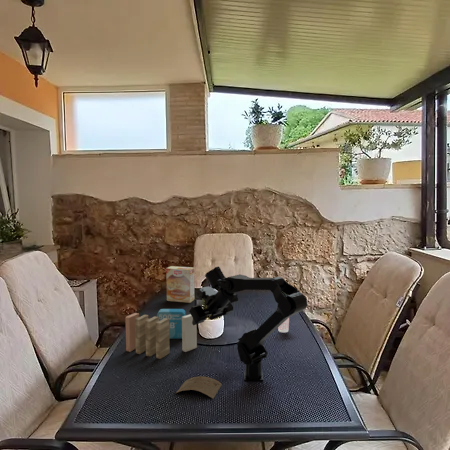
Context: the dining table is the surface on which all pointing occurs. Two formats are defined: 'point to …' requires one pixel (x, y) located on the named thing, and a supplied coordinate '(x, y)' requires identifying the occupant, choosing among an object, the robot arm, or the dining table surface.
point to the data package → (173, 321)
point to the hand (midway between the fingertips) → (201, 321)
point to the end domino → (131, 332)
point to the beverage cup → (284, 326)
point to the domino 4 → (188, 334)
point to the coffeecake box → (180, 284)
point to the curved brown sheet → (202, 385)
